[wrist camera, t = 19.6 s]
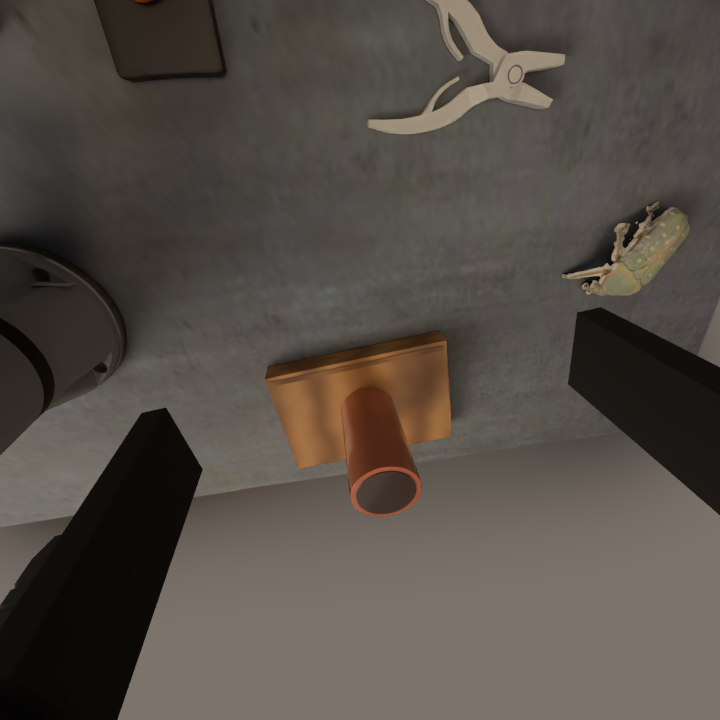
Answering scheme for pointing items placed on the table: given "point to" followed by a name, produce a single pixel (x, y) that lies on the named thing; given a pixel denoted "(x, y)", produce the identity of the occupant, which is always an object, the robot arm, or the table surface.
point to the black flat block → (162, 38)
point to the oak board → (357, 371)
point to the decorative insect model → (638, 254)
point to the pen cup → (377, 455)
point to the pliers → (502, 84)
